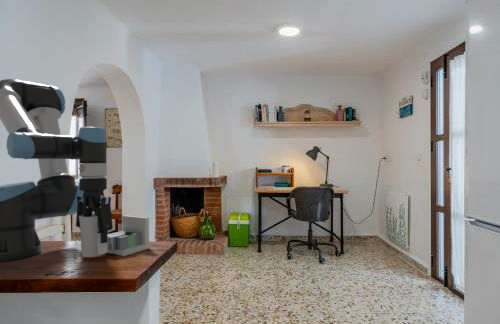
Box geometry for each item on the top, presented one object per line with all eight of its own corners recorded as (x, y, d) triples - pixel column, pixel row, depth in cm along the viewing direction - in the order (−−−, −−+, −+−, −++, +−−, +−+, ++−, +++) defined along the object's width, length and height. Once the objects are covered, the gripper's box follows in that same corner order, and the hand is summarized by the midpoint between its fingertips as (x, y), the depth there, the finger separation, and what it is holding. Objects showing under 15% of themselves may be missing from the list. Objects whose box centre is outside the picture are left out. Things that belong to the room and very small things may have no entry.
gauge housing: (100, 251, 103) (100, 219, 103) (126, 244, 111) (125, 215, 111) (123, 255, 97) (123, 222, 97) (149, 248, 105) (148, 217, 105)
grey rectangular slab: (101, 248, 99) (101, 233, 99) (123, 242, 106) (122, 228, 106) (116, 251, 95) (116, 235, 96) (137, 245, 102) (137, 230, 102)
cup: (96, 258, 90) (96, 217, 90) (72, 257, 91) (72, 216, 92) (113, 250, 98) (113, 213, 98) (91, 249, 99) (91, 212, 99)
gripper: (62, 177, 97) (63, 250, 96) (102, 178, 86) (103, 259, 86) (85, 176, 103) (86, 245, 103) (125, 177, 93) (126, 253, 93)
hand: (94, 251), depth 95 cm, fingers closed on cup, 7 cm apart
